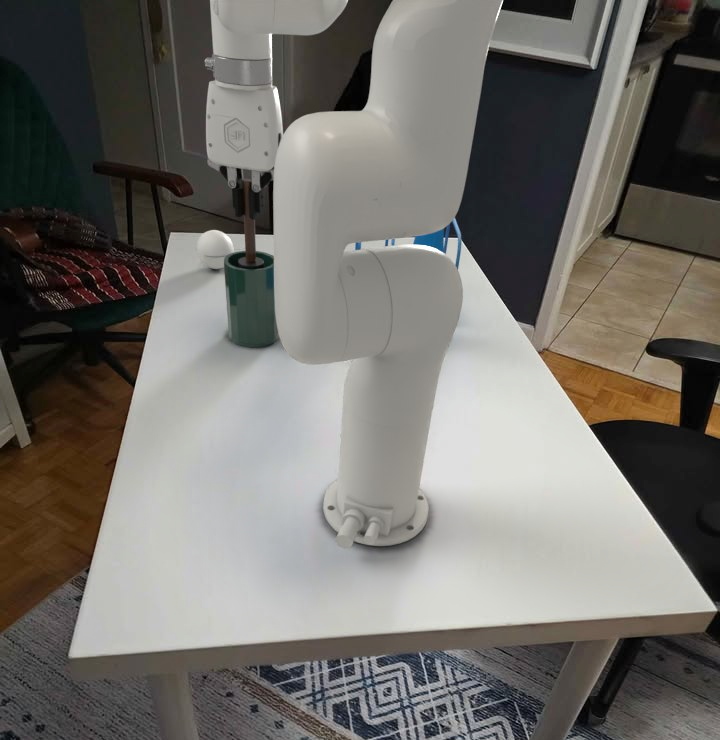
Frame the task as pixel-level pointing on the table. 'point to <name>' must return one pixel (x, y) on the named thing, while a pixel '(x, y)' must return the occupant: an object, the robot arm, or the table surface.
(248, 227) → the brush
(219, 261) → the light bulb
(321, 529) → the table surface
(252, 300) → the cup
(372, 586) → the table surface
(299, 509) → the table surface
